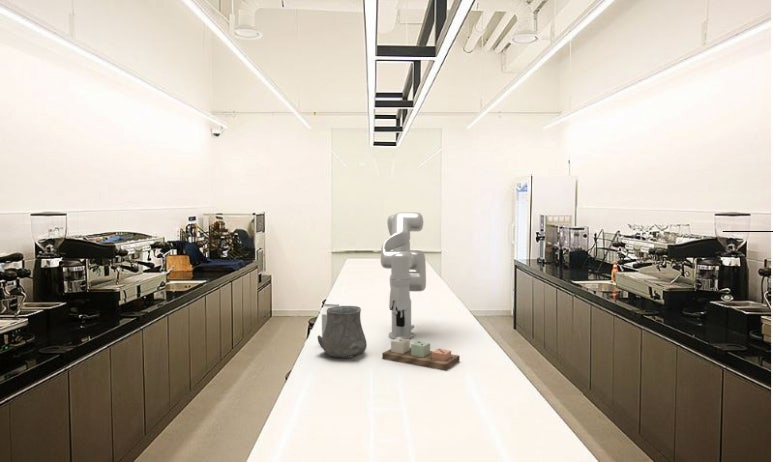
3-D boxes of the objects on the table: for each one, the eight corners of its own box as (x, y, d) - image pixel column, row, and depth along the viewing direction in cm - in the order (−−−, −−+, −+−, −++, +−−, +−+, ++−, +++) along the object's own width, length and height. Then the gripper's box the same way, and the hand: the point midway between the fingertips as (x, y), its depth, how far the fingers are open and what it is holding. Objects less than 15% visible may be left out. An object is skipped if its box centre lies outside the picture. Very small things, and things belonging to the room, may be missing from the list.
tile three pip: (431, 363, 202) (431, 351, 202) (438, 359, 207) (438, 348, 207) (445, 365, 199) (445, 353, 199) (451, 361, 204) (451, 350, 204)
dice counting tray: (382, 359, 210) (382, 353, 210) (398, 351, 221) (398, 345, 221) (446, 370, 195) (446, 364, 195) (459, 361, 206) (459, 355, 206)
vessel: (330, 366, 201) (330, 317, 200) (312, 352, 221) (311, 306, 219) (379, 358, 211) (379, 311, 210) (357, 345, 231) (357, 301, 229)
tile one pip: (391, 351, 212) (391, 340, 212) (398, 348, 217) (398, 337, 217) (403, 354, 209) (403, 342, 209) (409, 350, 214) (409, 339, 214)
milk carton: (337, 347, 227) (336, 306, 225) (322, 347, 228) (321, 305, 227) (341, 343, 234) (341, 302, 232) (327, 342, 235) (326, 302, 234)
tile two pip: (411, 355, 207) (411, 343, 207) (417, 351, 212) (417, 340, 212) (423, 357, 204) (423, 345, 204) (430, 353, 209) (430, 342, 209)
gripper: (401, 279, 220) (401, 321, 220) (383, 284, 207) (383, 328, 208) (416, 281, 216) (416, 323, 217) (399, 286, 203) (399, 331, 204)
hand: (400, 326), depth 212 cm, fingers closed
